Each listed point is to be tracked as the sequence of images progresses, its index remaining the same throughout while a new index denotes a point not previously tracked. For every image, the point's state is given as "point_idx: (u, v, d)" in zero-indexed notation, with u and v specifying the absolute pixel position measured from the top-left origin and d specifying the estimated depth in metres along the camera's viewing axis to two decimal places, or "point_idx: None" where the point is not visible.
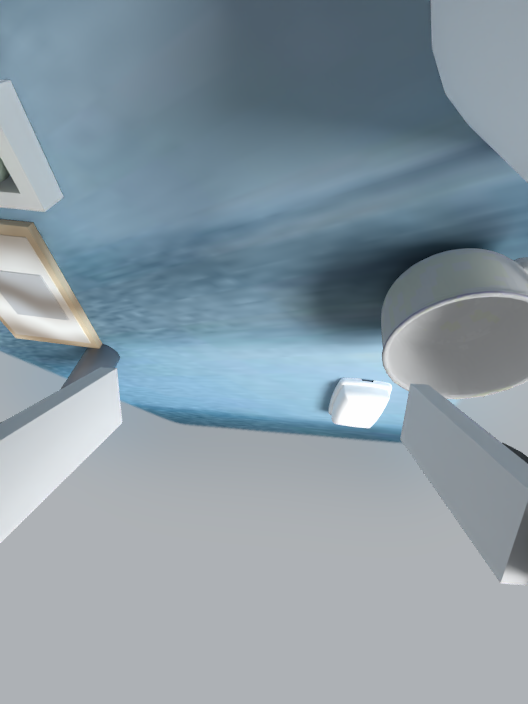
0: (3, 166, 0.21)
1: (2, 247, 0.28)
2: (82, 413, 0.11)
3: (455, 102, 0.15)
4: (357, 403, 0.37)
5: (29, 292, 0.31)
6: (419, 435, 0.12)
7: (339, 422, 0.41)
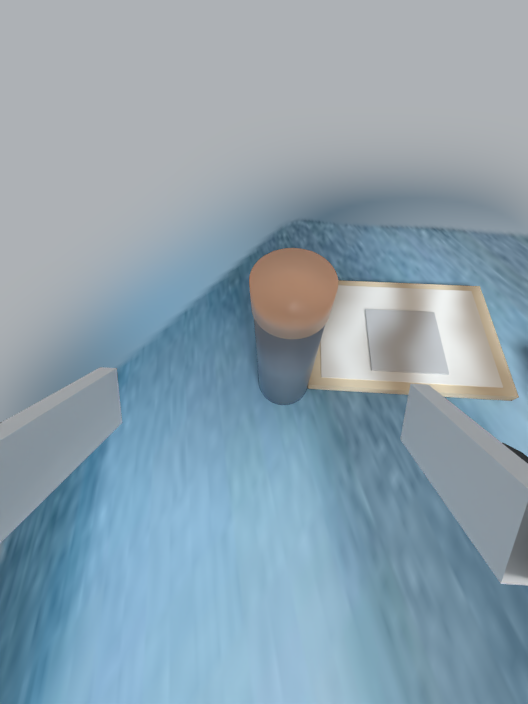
0: None
1: (474, 352, 0.25)
2: (81, 413, 0.11)
3: None
4: None
5: (413, 345, 0.25)
6: (419, 435, 0.12)
7: None
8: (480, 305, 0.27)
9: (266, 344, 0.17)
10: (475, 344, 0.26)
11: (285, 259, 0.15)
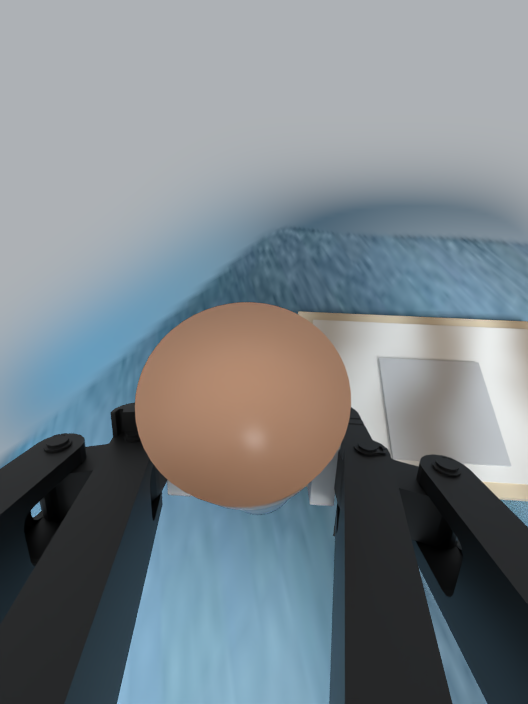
0: None
1: None
2: None
3: None
4: None
5: (453, 417, 0.17)
6: None
7: None
8: None
9: None
10: None
11: (229, 331, 0.07)
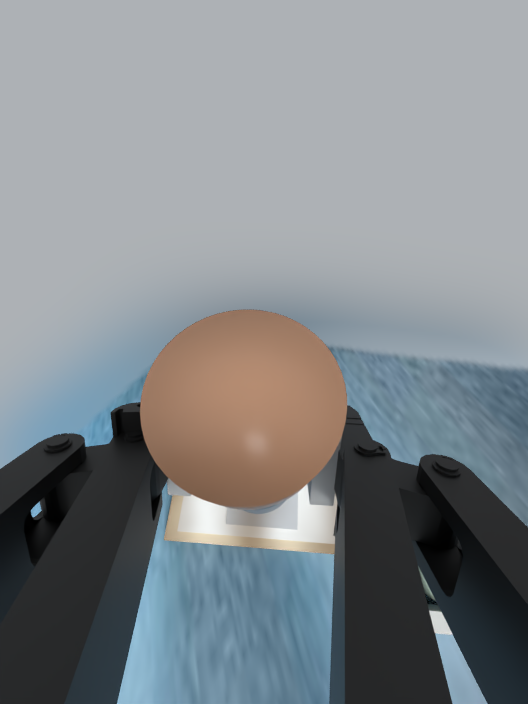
0: None
1: None
2: None
3: None
4: None
5: None
6: None
7: None
8: None
9: None
10: None
11: (230, 337, 0.07)
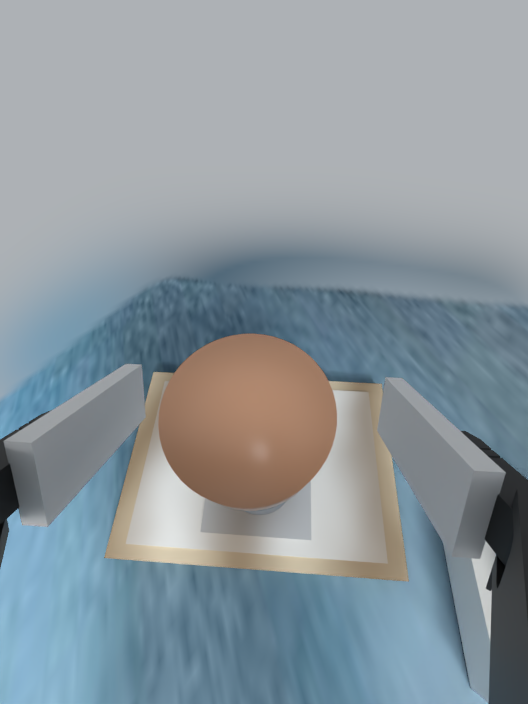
0: None
1: (356, 497, 0.18)
2: (113, 407, 0.12)
3: None
4: None
5: None
6: (392, 426, 0.13)
7: None
8: (377, 415, 0.20)
9: None
10: (359, 482, 0.18)
11: (235, 359, 0.08)
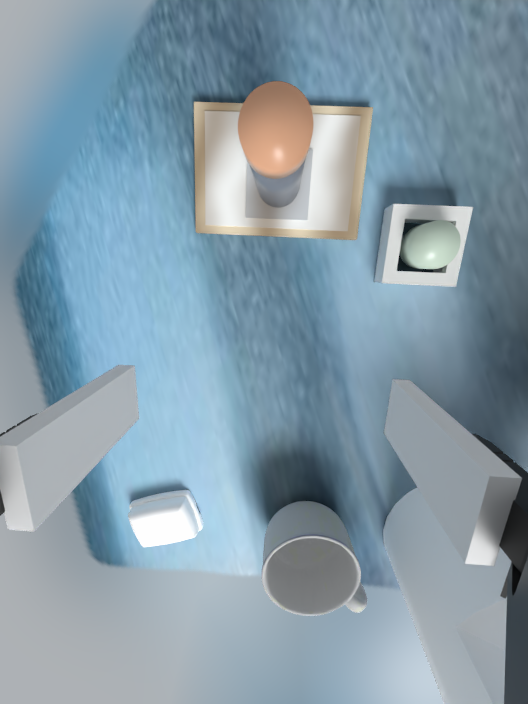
0: (413, 267, 0.29)
1: (337, 196, 0.29)
2: (104, 408, 0.12)
3: (414, 505, 0.36)
4: (177, 520, 0.38)
5: None
6: (399, 428, 0.12)
7: (135, 521, 0.39)
8: (363, 136, 0.28)
9: (257, 176, 0.21)
10: (340, 187, 0.29)
11: (268, 99, 0.17)
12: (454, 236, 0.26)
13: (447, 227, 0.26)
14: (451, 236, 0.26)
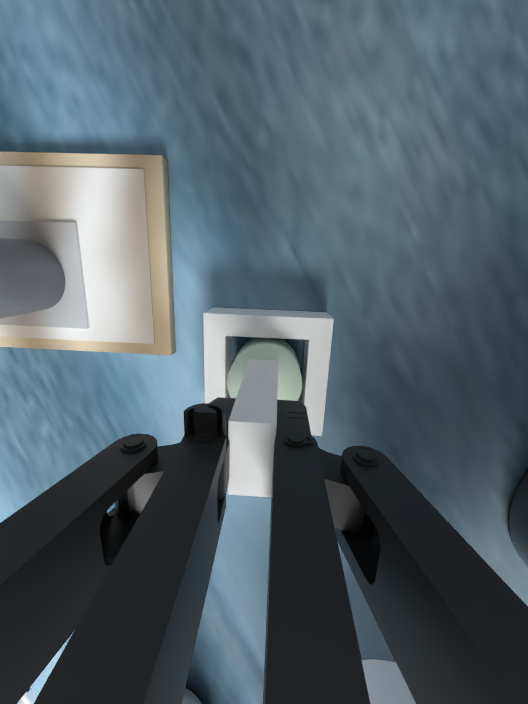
0: None
1: (130, 292, 0.18)
2: None
3: None
4: None
5: None
6: None
7: None
8: (154, 202, 0.17)
9: None
10: (133, 279, 0.18)
11: None
12: (290, 372, 0.16)
13: (277, 359, 0.16)
14: (286, 372, 0.16)
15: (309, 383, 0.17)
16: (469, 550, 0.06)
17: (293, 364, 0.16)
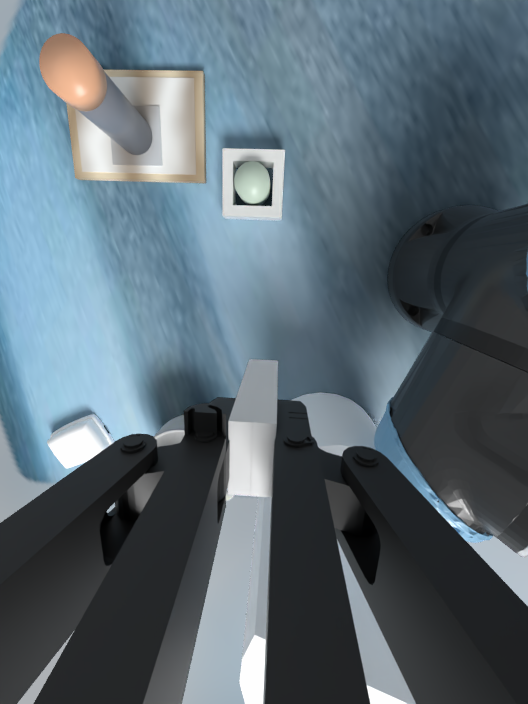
0: (247, 203, 0.37)
1: (184, 145, 0.36)
2: None
3: None
4: (84, 437, 0.45)
5: None
6: None
7: (52, 444, 0.46)
8: (198, 95, 0.34)
9: None
10: (186, 137, 0.35)
11: (59, 46, 0.23)
12: (264, 174, 0.34)
13: (257, 167, 0.34)
14: (262, 174, 0.34)
15: (274, 186, 0.35)
16: (469, 550, 0.06)
17: (265, 169, 0.34)
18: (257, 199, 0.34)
